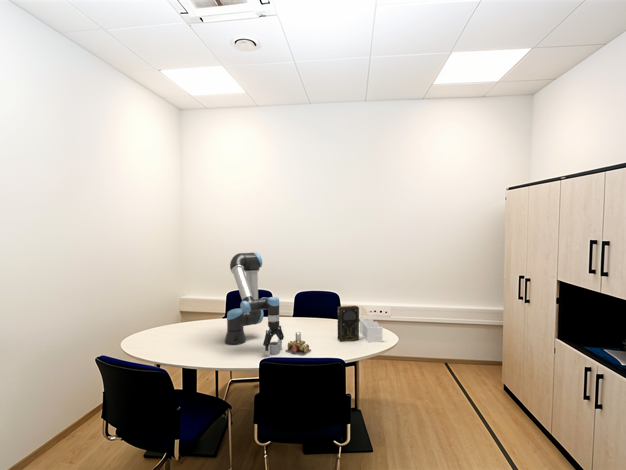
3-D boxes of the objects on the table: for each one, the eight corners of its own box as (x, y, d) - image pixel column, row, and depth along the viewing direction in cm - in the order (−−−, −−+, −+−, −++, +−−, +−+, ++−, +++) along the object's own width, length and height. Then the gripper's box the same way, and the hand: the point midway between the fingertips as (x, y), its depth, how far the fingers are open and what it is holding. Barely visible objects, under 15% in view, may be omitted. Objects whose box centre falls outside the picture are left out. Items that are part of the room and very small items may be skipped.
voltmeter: (340, 342, 252) (340, 308, 252) (336, 338, 261) (336, 305, 260) (360, 340, 256) (360, 307, 256) (355, 337, 265) (355, 304, 264)
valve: (284, 352, 233) (284, 333, 233) (293, 347, 242) (293, 329, 242) (302, 356, 226) (302, 337, 226) (310, 350, 235) (310, 332, 235)
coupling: (265, 353, 231) (265, 344, 231) (272, 349, 238) (272, 340, 238) (275, 355, 227) (275, 346, 227) (282, 351, 234) (282, 342, 234)
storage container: (359, 332, 277) (359, 318, 277) (372, 331, 279) (373, 318, 278) (367, 342, 253) (367, 327, 252) (382, 342, 254) (382, 327, 254)
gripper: (266, 326, 219) (266, 359, 220) (288, 317, 241) (289, 347, 241) (257, 324, 223) (257, 357, 224) (280, 315, 245) (280, 345, 245)
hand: (273, 352), depth 232 cm, fingers open, 13 cm apart
